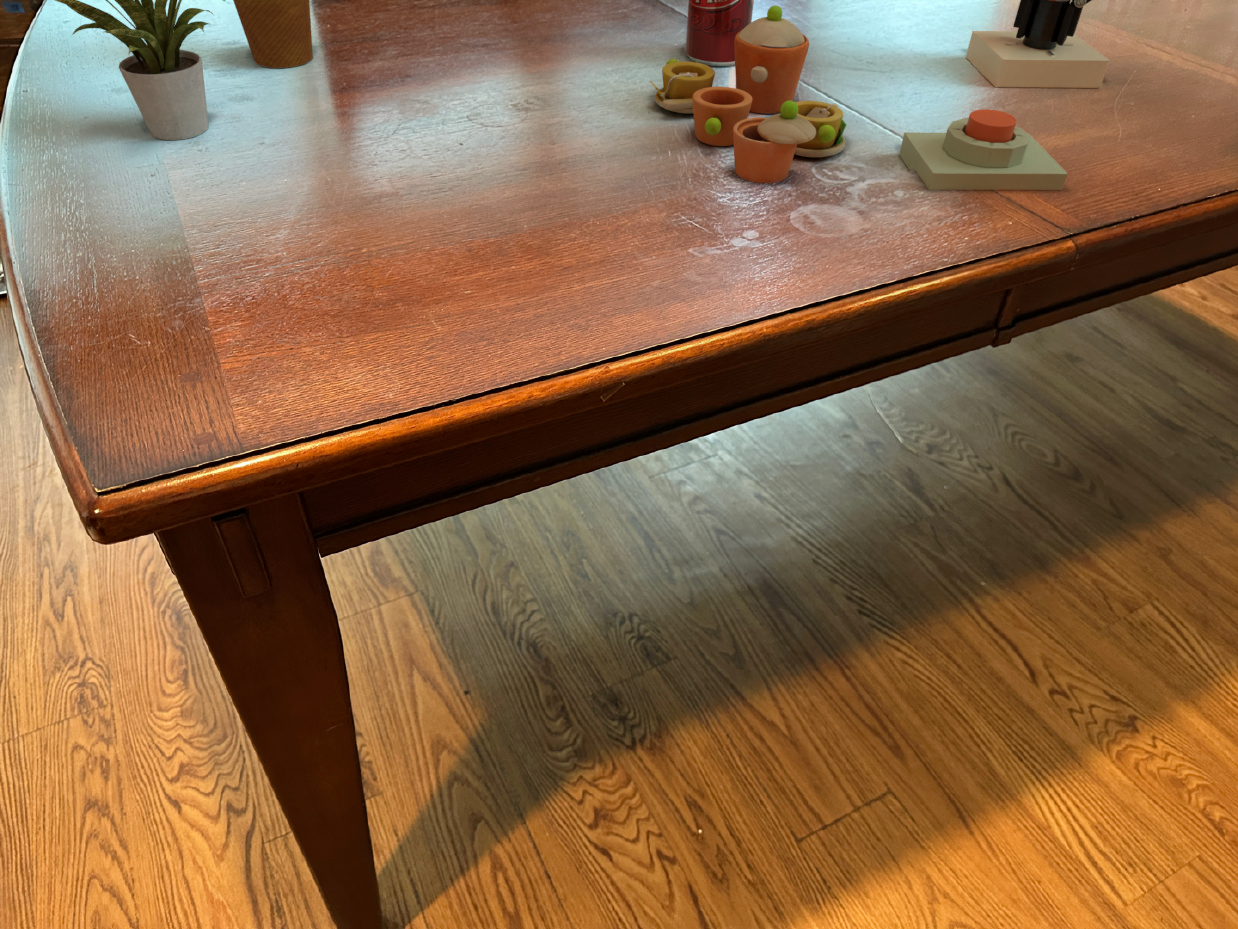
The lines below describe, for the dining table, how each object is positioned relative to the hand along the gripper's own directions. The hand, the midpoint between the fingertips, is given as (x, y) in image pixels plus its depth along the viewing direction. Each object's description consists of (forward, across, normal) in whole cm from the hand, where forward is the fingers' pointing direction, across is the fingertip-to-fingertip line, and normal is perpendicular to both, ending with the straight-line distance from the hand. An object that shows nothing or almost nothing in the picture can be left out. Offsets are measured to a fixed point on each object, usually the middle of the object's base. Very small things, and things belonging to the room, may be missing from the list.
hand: (1041, 36), depth 105 cm
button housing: (+4, -1, +32) cm, 33 cm away
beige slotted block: (+4, 0, 0) cm, 4 cm away
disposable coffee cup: (+4, +74, +43) cm, 85 cm away
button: (0, -1, +32) cm, 32 cm away
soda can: (+4, +33, +16) cm, 37 cm away
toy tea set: (+4, +20, +34) cm, 40 cm away
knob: (+1, 0, 0) cm, 1 cm away
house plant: (+4, +68, +62) cm, 92 cm away
